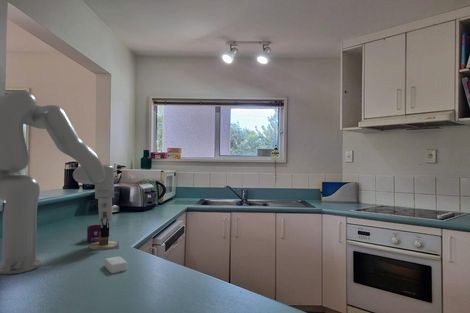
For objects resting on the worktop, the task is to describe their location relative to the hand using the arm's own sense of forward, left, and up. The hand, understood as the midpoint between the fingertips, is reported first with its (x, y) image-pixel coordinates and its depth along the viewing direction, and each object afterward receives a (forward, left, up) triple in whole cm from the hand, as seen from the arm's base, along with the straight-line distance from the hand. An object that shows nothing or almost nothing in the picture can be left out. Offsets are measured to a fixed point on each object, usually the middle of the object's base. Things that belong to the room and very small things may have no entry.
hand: (105, 234), depth 133 cm
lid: (0, +1, -5) cm, 5 cm away
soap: (-30, -4, -6) cm, 30 cm away
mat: (0, +1, -5) cm, 5 cm away
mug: (+14, +5, -6) cm, 15 cm away
